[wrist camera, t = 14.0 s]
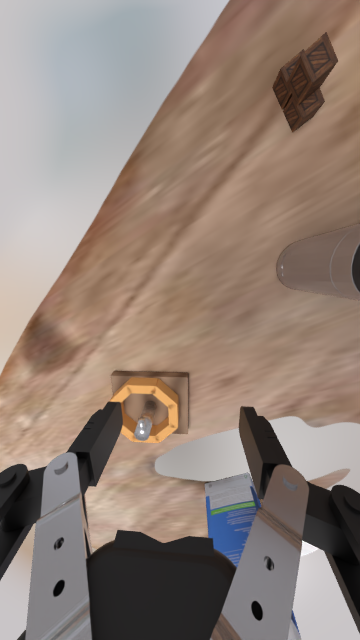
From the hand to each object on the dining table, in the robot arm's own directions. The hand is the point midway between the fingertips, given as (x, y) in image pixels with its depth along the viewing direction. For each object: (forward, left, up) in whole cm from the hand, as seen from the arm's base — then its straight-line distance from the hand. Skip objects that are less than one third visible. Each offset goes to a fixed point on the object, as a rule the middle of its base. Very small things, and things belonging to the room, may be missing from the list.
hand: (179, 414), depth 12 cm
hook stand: (+9, +22, -28) cm, 37 cm away
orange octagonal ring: (+10, +22, -26) cm, 35 cm away
